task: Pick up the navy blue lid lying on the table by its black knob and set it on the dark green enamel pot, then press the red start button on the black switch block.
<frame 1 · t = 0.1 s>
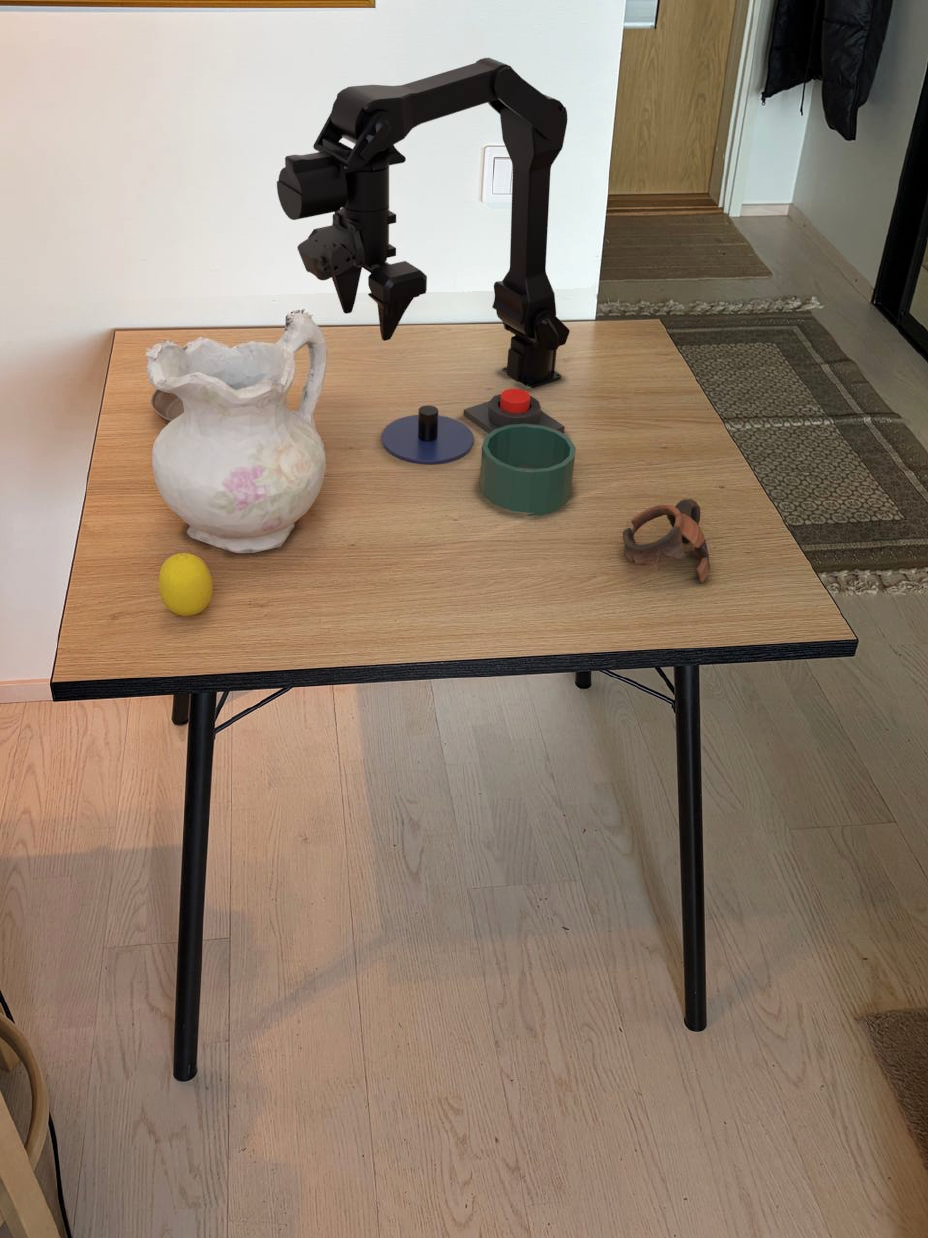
hand: (366, 325, 149), 15 cm above the table, tool pointing down, fingers open, 9 cm apart
lid: (427, 440, 155), point 1 cm above the table
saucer: (209, 416, 159), on the table
lemon: (189, 616, 126), on the table
broken clay ring: (668, 562, 137), on the table
ceramic pitcher: (253, 523, 140), on the table
start button: (515, 401, 157), point 4 cm above the table, slide at 0.1 cm
switch block: (513, 427, 160), on the table
pot: (525, 490, 147), on the table
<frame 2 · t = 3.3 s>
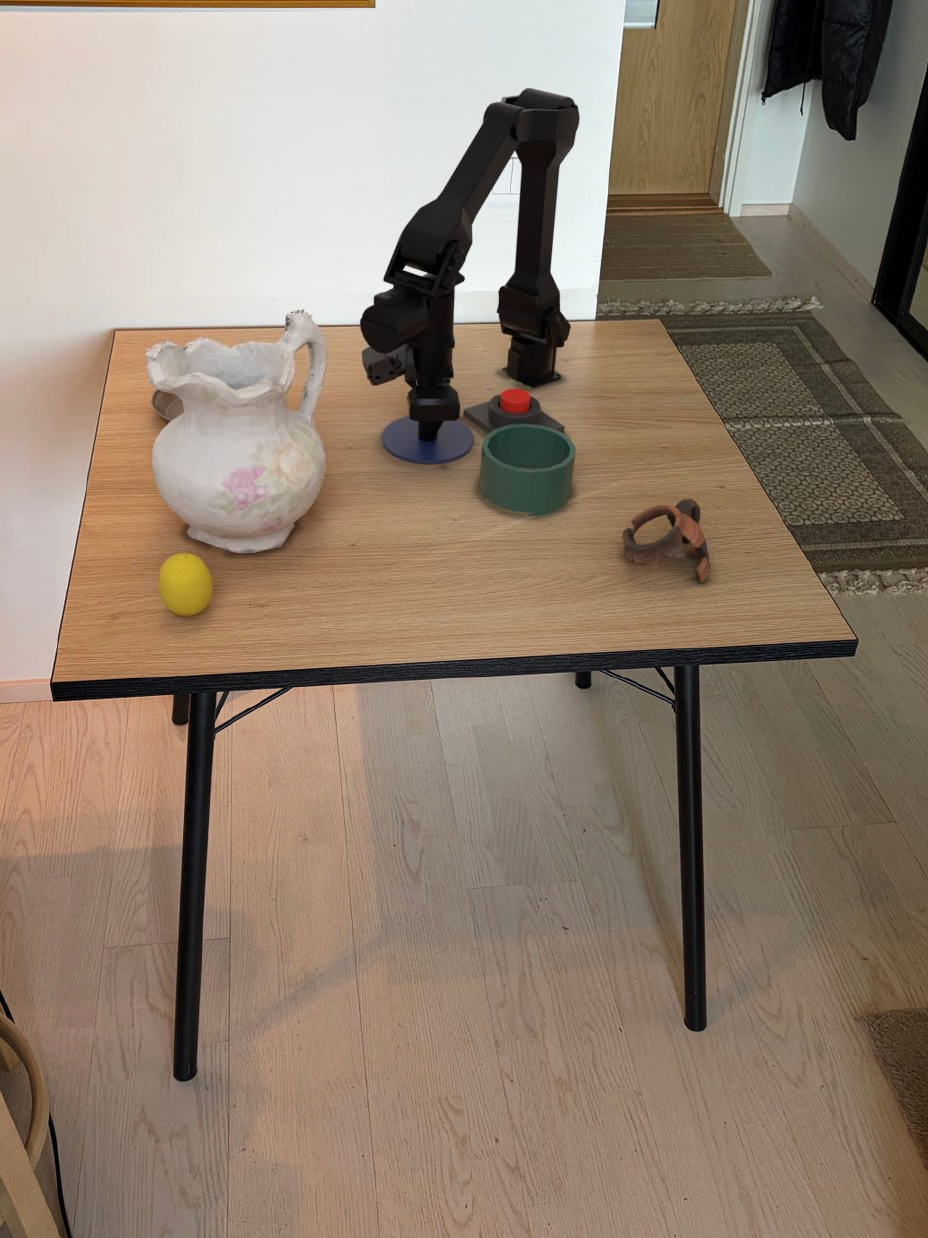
hand: (427, 434, 154), 1 cm above the table, tool pointing down, fingers closed on lid, 3 cm apart
lid: (427, 440, 155), point 1 cm above the table, touching gripper
everything else where it was.
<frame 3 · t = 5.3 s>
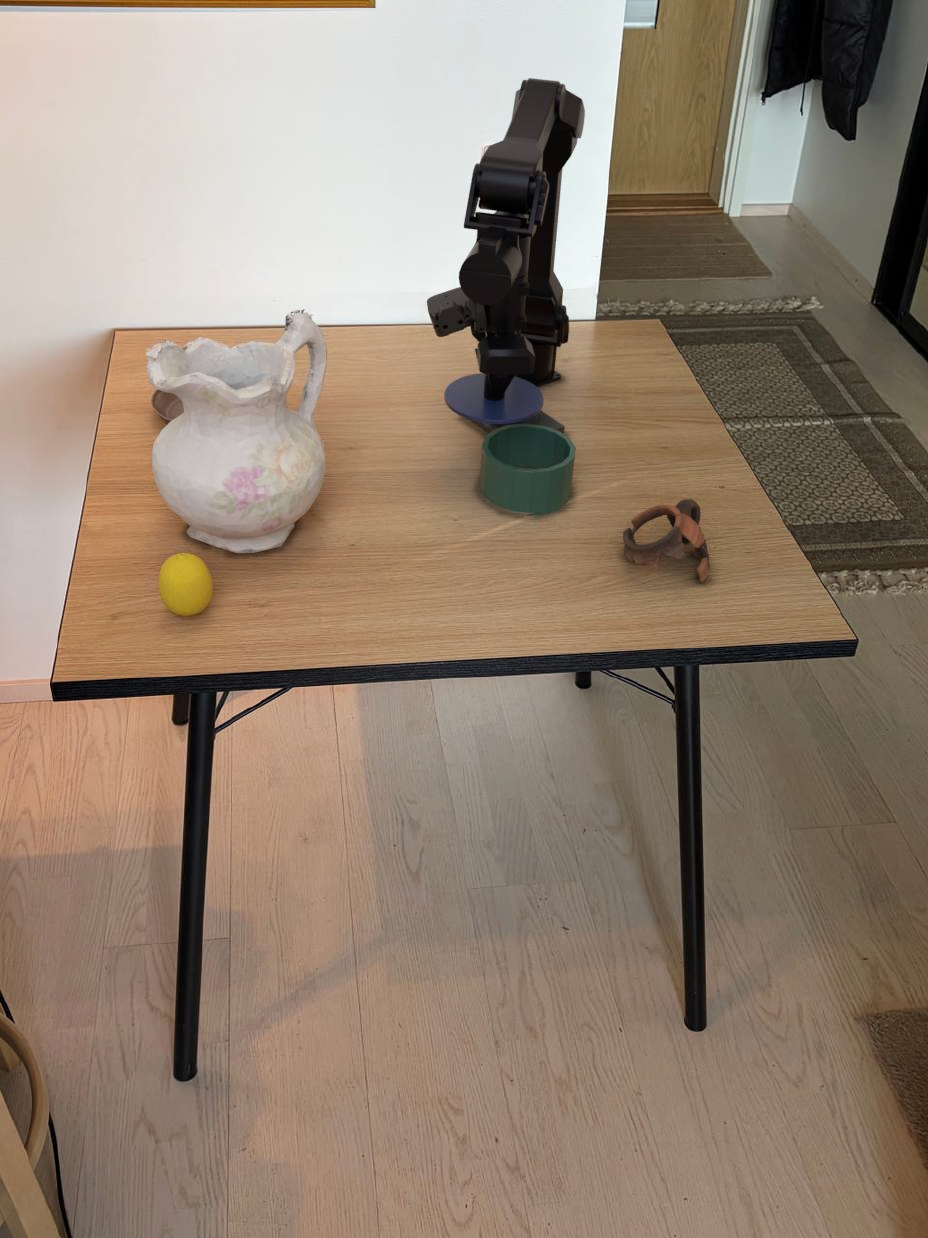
hand: (494, 393, 143), 12 cm above the table, tool pointing down, fingers closed on lid, 3 cm apart
lid: (493, 399, 143), point 11 cm above the table, touching gripper
everything else where it was.
when the fingers open (7 cm above the table, at t = 7.3 s): lid stays where it is, resting on pot.
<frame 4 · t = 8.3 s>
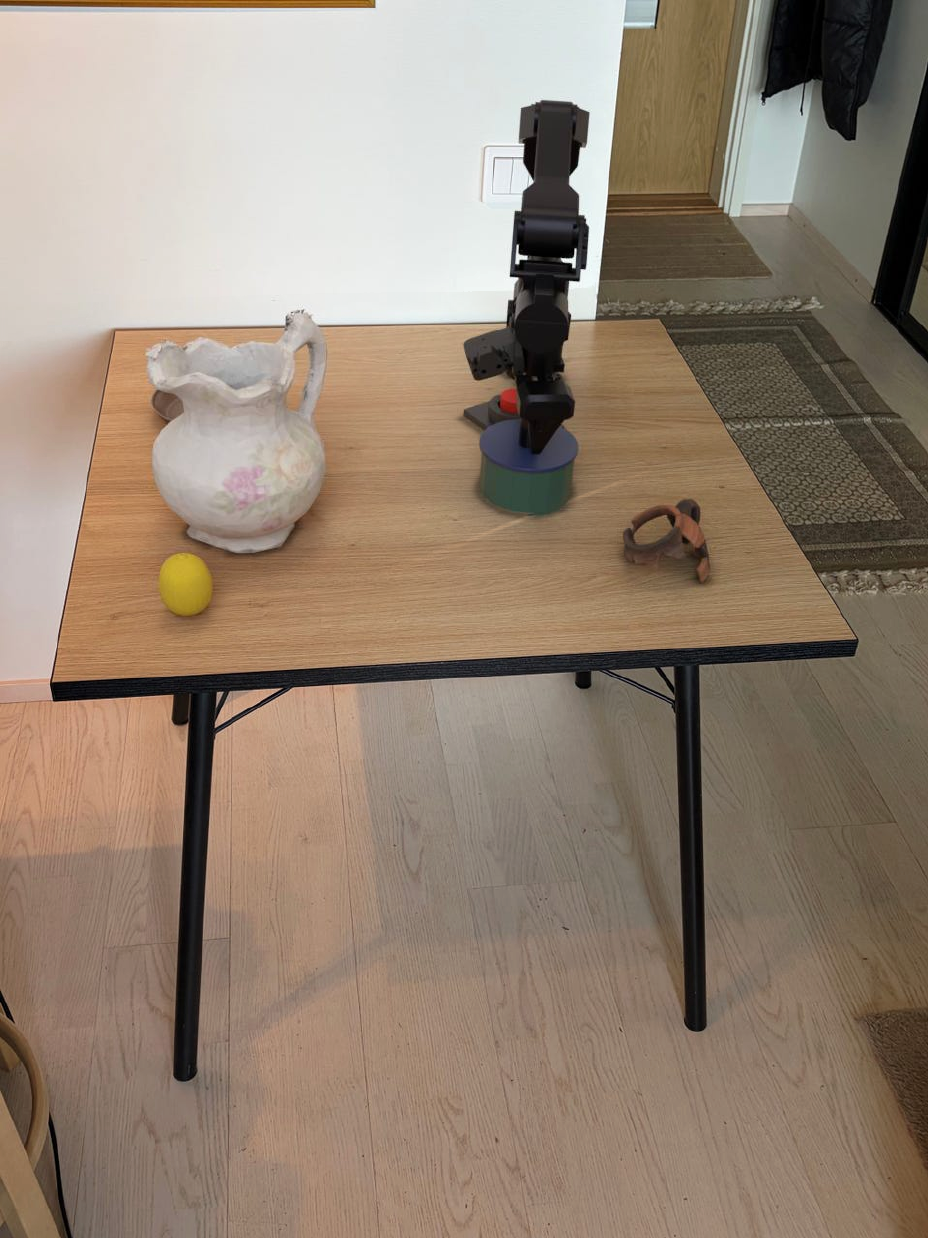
hand: (530, 434, 142), 8 cm above the table, tool pointing down, fingers open, 9 cm apart
lid: (528, 446, 143), point 6 cm above the table, touching pot
everything else where it was.
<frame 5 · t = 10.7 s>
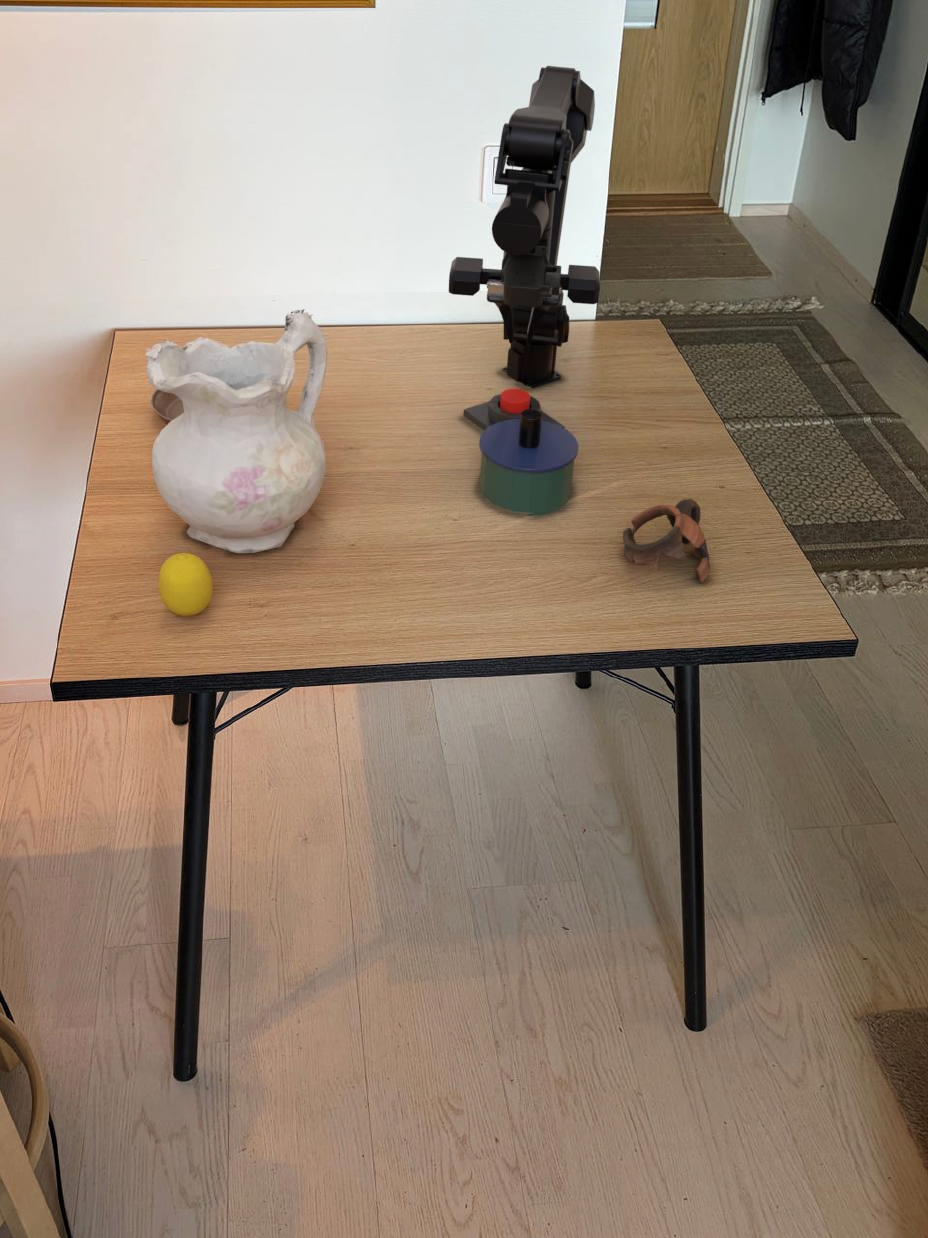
hand: (519, 342, 152), 13 cm above the table, tool pointing down, fingers closed
nothing on the table moved.
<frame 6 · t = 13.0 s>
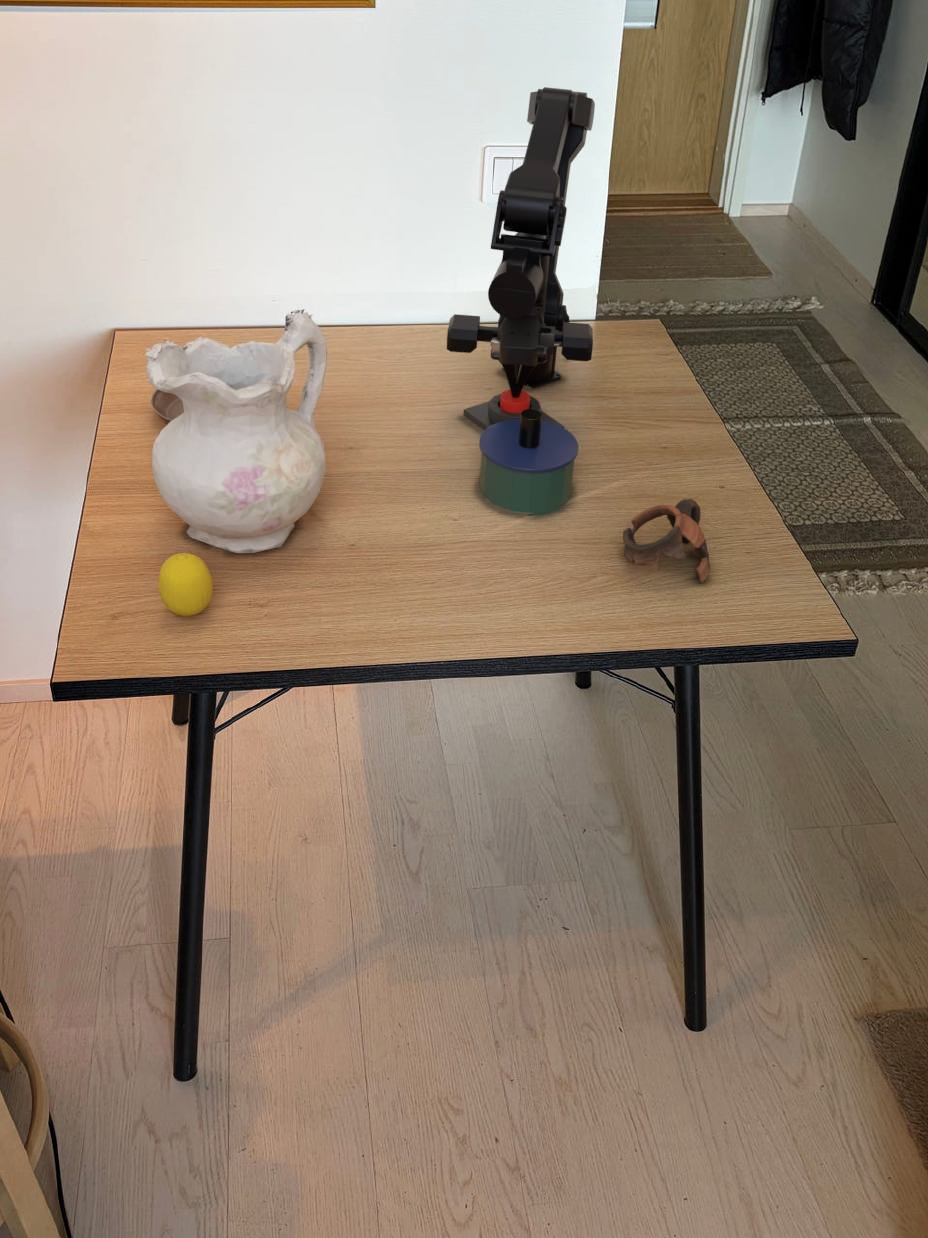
hand: (515, 396, 157), 5 cm above the table, tool pointing down, fingers closed, pressing on start button
start button: (515, 402, 157), point 4 cm above the table, slide at 0.0 cm, touching gripper
everything else where it was.
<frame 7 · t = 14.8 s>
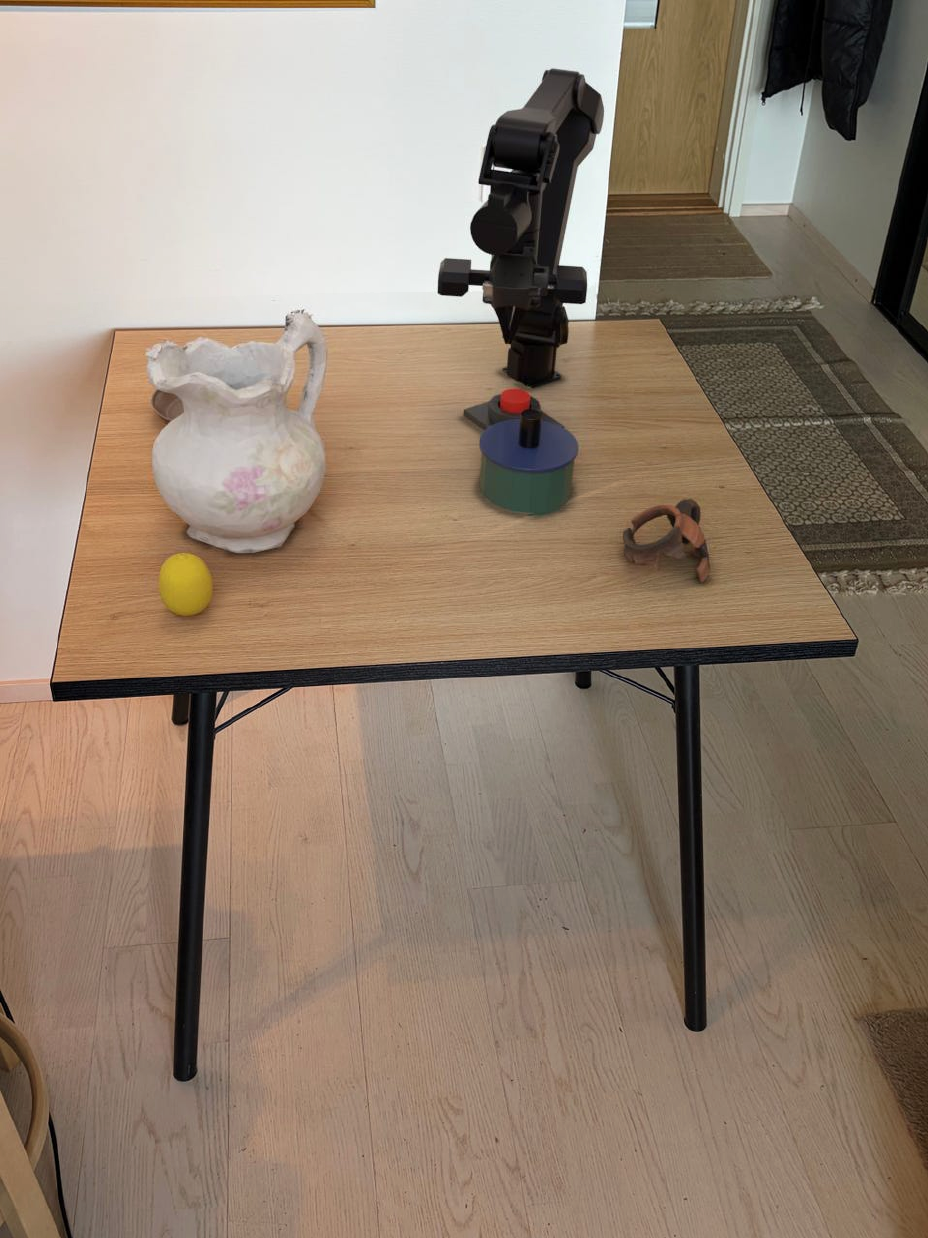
hand: (508, 342, 153), 12 cm above the table, tool pointing down, fingers closed
start button: (515, 401, 157), point 4 cm above the table, slide at 0.1 cm
everything else where it was.
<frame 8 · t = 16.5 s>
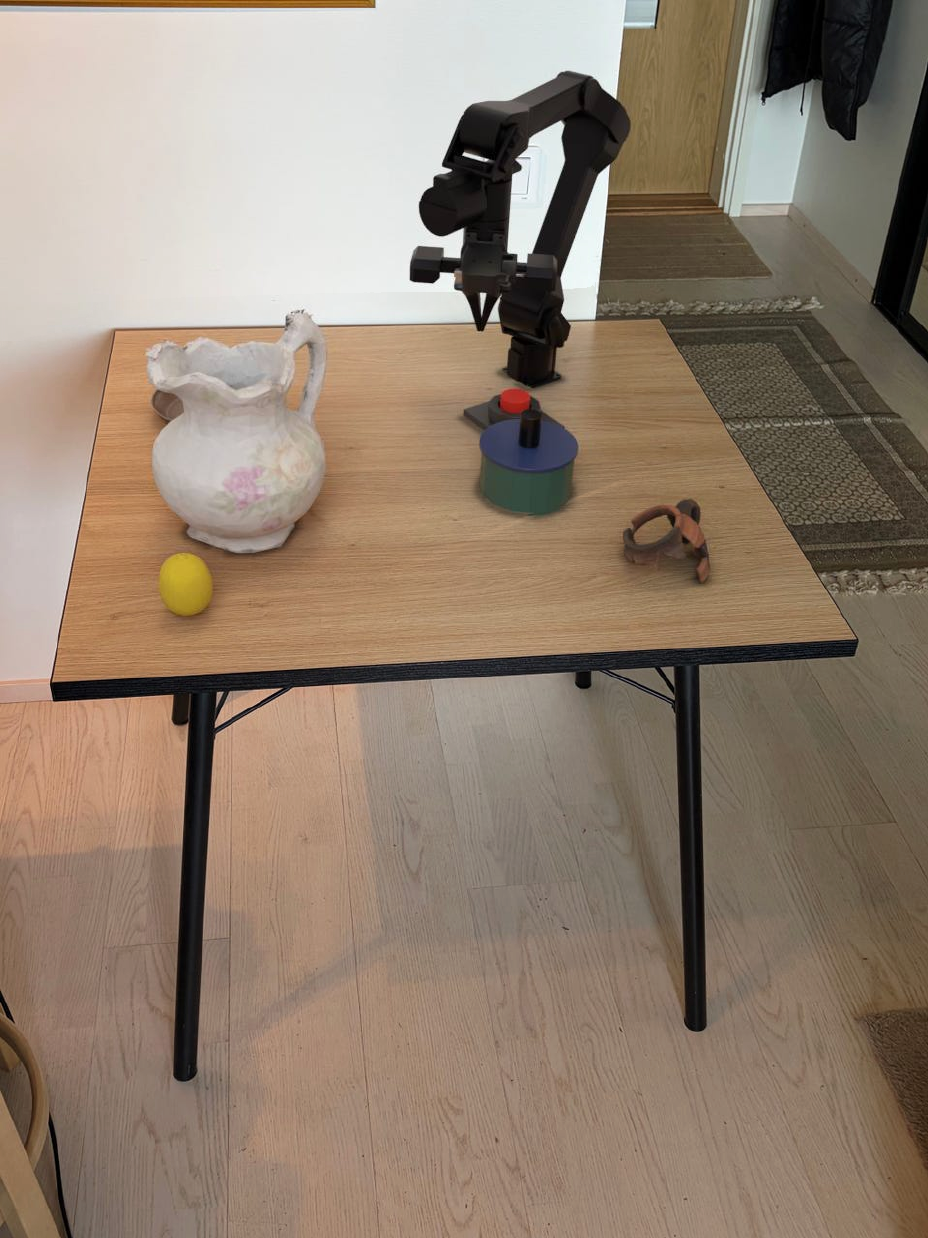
hand: (480, 330, 155), 12 cm above the table, tool pointing down, fingers closed
nothing on the table moved.
at the end: lid 0.1 cm off-centre on the pot, point 6.4 cm above the pot's base; lid tilted 0°; start button pushed in 1.0 cm at the most during the clip, back to where it started at the end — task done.
